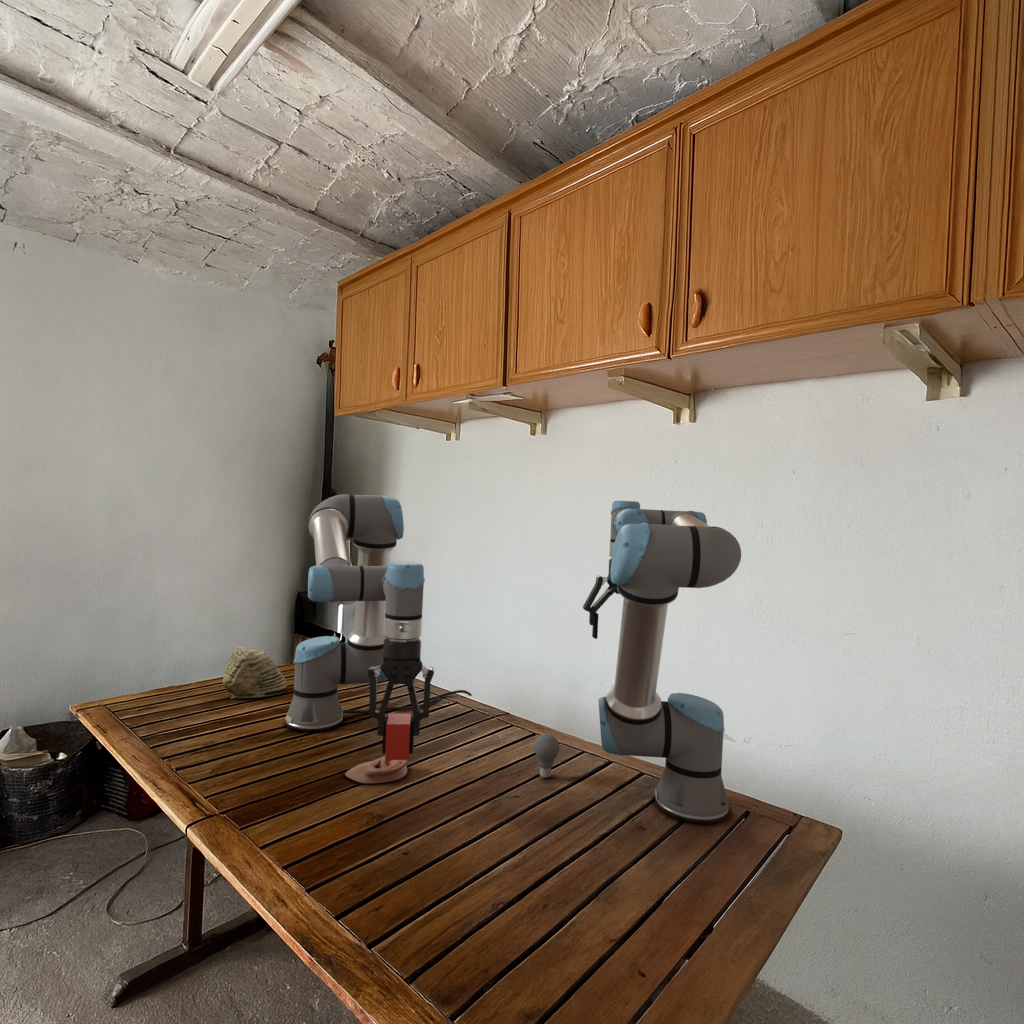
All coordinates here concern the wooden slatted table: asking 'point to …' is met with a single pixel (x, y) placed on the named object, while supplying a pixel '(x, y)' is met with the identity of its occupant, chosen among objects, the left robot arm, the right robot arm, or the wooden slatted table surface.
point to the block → (398, 737)
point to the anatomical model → (378, 771)
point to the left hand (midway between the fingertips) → (397, 750)
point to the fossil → (252, 674)
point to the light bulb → (546, 752)
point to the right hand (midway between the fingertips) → (619, 638)
